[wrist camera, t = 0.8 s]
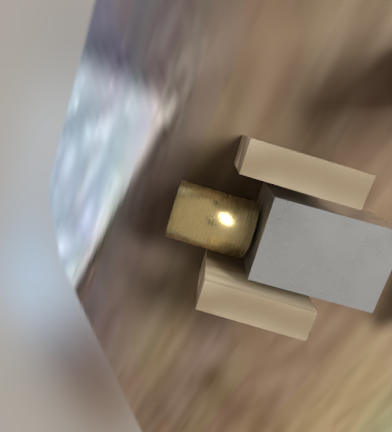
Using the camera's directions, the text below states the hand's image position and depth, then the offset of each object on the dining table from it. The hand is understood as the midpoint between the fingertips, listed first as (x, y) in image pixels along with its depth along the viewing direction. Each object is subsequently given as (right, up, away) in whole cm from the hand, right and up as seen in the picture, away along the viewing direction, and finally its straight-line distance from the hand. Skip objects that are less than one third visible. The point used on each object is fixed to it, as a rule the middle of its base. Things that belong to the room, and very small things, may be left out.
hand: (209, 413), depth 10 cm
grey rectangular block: (+9, +4, +20) cm, 22 cm away
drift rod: (+1, +6, +20) cm, 21 cm away
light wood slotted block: (+5, +5, +20) cm, 21 cm away
